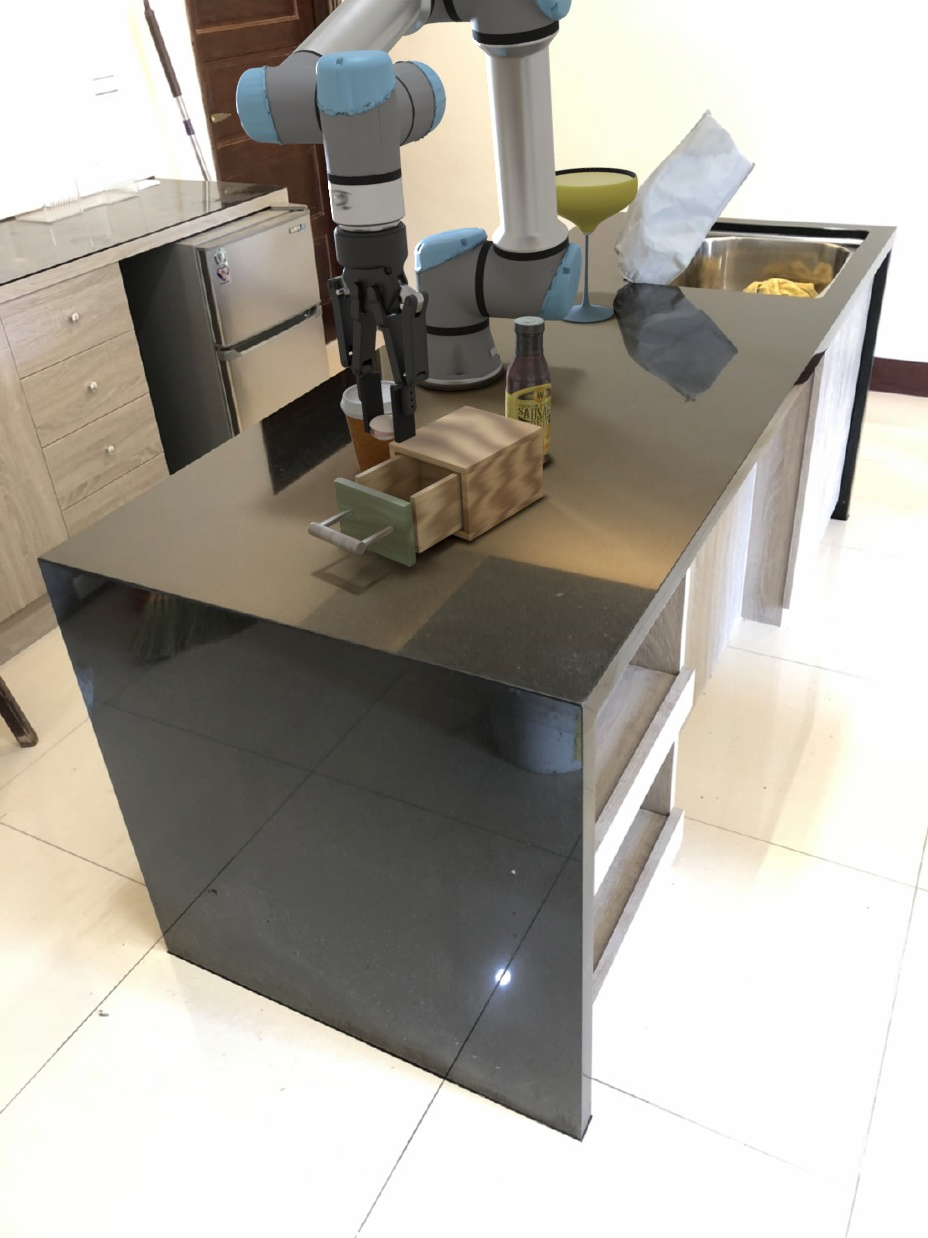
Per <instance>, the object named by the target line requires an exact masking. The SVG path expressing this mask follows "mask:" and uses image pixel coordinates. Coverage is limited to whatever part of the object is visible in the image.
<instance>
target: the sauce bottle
mask: <svg viewBox="0 0 928 1238" xmlns="http://www.w3.org/2000/svg"><path fill="white" fill-rule="evenodd" d="M545 323H546V322H545V321H544V319H542V318H540V317H532V316H527V317H520V318H517V319H514V321H513V332H514V334H515V337H514V339H515V340H514V341H515V342H514V356H513V358H512V359H511V360H510V362H509V363H508V366H507V369H506V374H505V375H506V376H505V379H506V380H505V383H506V384H505V385H506V386H505V393H504V394H505V402H504V403H505V404H504V407H505V409H504V413H505V414H504V415H505V417H508V418H512V419H515V420H519V421H522V422H526V423H530V424H533V425H537V426H540V427H542V443H543V465H544V464H546V463H547V462H548V459H549V452H550V449H551V448H550V447H551V445H550V444H551V411H552V410H551V409H552V408H551V407H552V379H551V373H550V369H549V364H548V361H547V360H546V357H545V354H544V351H545V350H544V333H545V330H546V325H545Z"/></svg>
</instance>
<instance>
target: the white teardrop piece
mask: <svg viewBox="0 0 928 1238" xmlns="http://www.w3.org/2000/svg"><path fill="white" fill-rule="evenodd" d="M369 425H370V427H371V429H370V432H371V434H372V436H373V437H375V438H377V439H378V440H391V439H393V438H395V437H394V427H393V416H392V415H380V416H377V417H375V418H374V419H372V420H371V422H370V424H369Z"/></svg>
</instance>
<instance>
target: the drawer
mask: <svg viewBox="0 0 928 1238" xmlns="http://www.w3.org/2000/svg"><path fill="white" fill-rule="evenodd" d="M333 483H334V485H333V486H334V491H335V499H336V506H337V514H336V515H334V516H332V517H330V518H328V519H325V520H324V521H323V522H321V523H319V522H316V521H312V522H310V524H309V525H308V528H307V529H308V530H307V531H308V534H309V535H310V536H312V537H314V538H317V539H319V540H322V541H324V542H326V543H328V544H331V545H333V546H335V547H338V548H339V549H343V550H344V551H347V552H349V553H352V554H354V555H356V556H362V555H363V554H365V551H366V550H368V551H371V552H373V553H374V554H375V553H376V554H377V555H380V556H383V557H385V558H388V559H390V560H392V561H395V562H397V563H399V564H402V565H403V566H405V567H408V568H410V567H413V566H414V565H415V564H417V556H416V553H418V554H421V553H423V552H424V551H426V550H428V549H429V548H432V547H433V546H435V545H436V544H437V543H439V542H441V541H443V540H444V539H446V538H447V537H449V536H451V535H453V533H454V532H456V531H458V530H459V529H461V528H463V527H464V518H463V501H462V484H461V473H458V472H455V471H452V470H449V469H446V468H443V467H440V466H437V465H434V464H431V463H428V462H425V461H422V460H419V459H416V458H413V457H410V456H407V455H404V454H401V453H400V454H398V455H396V456H394V457H392V458H390V459H388V460H386V461H384V462H382V463H380V464H378V465H376V466H374V467H372V468H370V469H368V470H366V471H364V472H362V473H360V472H359V474H356V475H355V476H354V481H352V480H351V479H347V478H345V477H338V478H336V479H334V480H333ZM337 523H339V529H340V531H338V530H335V529H333V528H331V526H333V525H335V524H337Z"/></svg>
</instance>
